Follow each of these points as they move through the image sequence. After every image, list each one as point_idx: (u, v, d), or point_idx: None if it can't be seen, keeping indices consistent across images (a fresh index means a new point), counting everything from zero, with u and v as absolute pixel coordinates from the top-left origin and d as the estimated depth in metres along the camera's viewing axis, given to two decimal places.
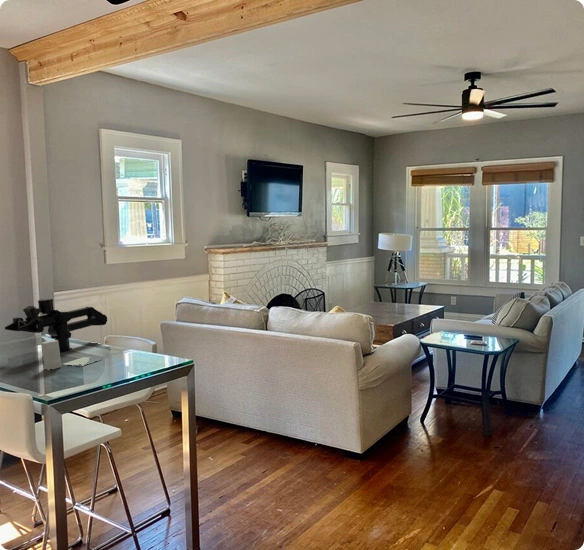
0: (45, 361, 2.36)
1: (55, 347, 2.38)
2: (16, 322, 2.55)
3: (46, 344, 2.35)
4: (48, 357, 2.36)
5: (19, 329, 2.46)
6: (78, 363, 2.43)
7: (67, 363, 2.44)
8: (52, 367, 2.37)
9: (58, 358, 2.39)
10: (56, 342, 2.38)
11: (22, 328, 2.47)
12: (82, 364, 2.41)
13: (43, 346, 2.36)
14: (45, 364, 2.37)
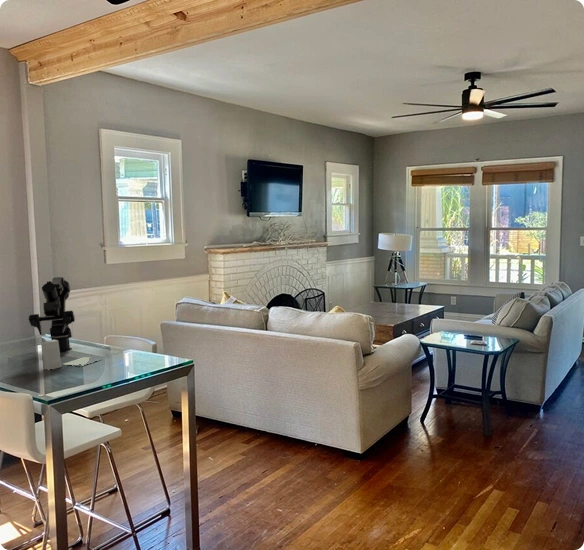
0: (45, 361, 2.36)
1: (55, 347, 2.38)
2: (39, 321, 2.47)
3: (46, 344, 2.35)
4: (48, 357, 2.36)
5: (63, 331, 2.47)
6: (78, 363, 2.43)
7: (67, 363, 2.44)
8: (52, 367, 2.37)
9: (58, 358, 2.39)
10: (56, 342, 2.38)
11: (64, 328, 2.48)
12: (82, 364, 2.41)
13: (43, 346, 2.36)
14: (45, 364, 2.37)
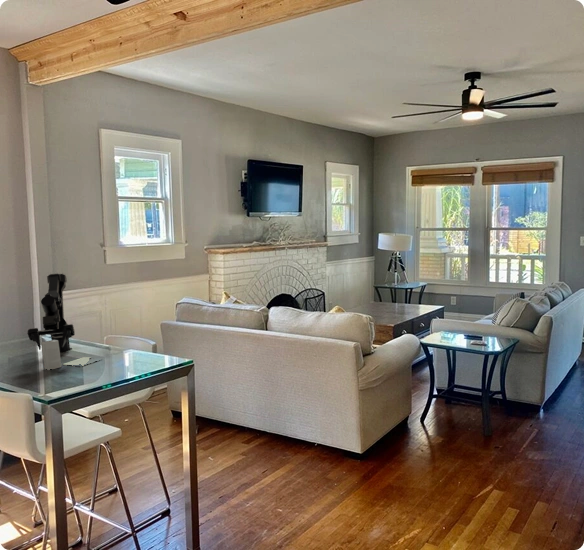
0: (45, 361, 2.36)
1: (55, 347, 2.38)
2: (38, 336, 2.41)
3: (46, 344, 2.35)
4: (48, 357, 2.36)
5: (63, 345, 2.41)
6: (78, 363, 2.43)
7: (67, 363, 2.44)
8: (52, 367, 2.37)
9: (58, 358, 2.39)
10: (56, 342, 2.38)
11: (64, 342, 2.42)
12: (82, 364, 2.41)
13: (43, 346, 2.36)
14: (45, 364, 2.37)
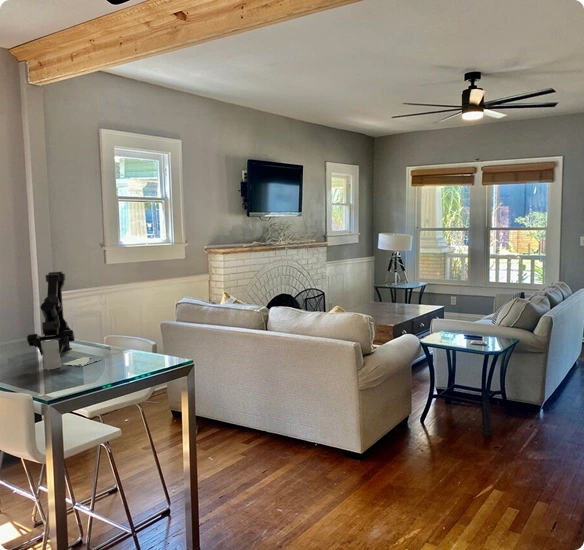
0: (45, 361, 2.36)
1: (55, 347, 2.38)
2: (40, 341, 2.39)
3: (46, 344, 2.35)
4: (48, 357, 2.36)
5: (60, 351, 2.39)
6: (78, 363, 2.43)
7: (67, 363, 2.44)
8: (52, 367, 2.37)
9: (58, 358, 2.39)
10: (56, 342, 2.38)
11: (61, 349, 2.39)
12: (82, 364, 2.41)
13: (43, 346, 2.36)
14: (45, 364, 2.37)
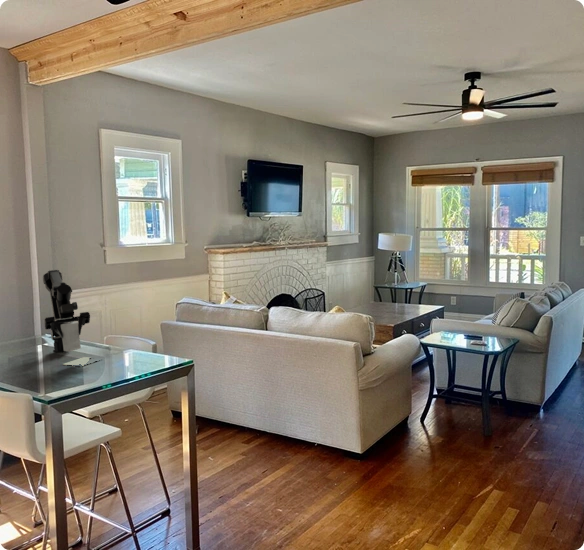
0: (66, 343, 2.40)
1: (75, 329, 2.42)
2: (58, 324, 2.41)
3: (67, 326, 2.38)
4: (69, 339, 2.39)
5: (80, 333, 2.43)
6: (78, 363, 2.43)
7: (67, 363, 2.44)
8: (73, 348, 2.41)
9: (78, 339, 2.43)
10: (76, 324, 2.42)
11: (80, 330, 2.44)
12: (82, 364, 2.41)
13: (64, 328, 2.39)
14: (65, 346, 2.40)
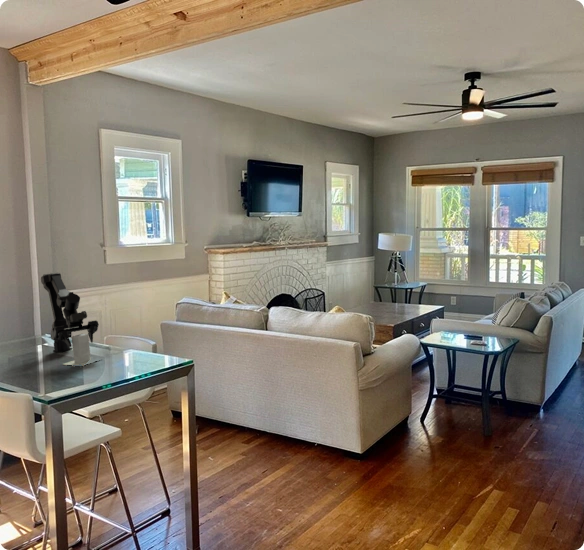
0: (77, 355, 2.43)
1: (86, 341, 2.45)
2: None
3: (79, 338, 2.42)
4: (81, 351, 2.42)
5: (92, 341, 2.47)
6: (78, 363, 2.43)
7: (67, 363, 2.44)
8: (84, 360, 2.44)
9: (88, 351, 2.46)
10: (86, 335, 2.45)
11: (92, 338, 2.48)
12: (82, 364, 2.41)
13: (75, 340, 2.42)
14: (76, 358, 2.43)
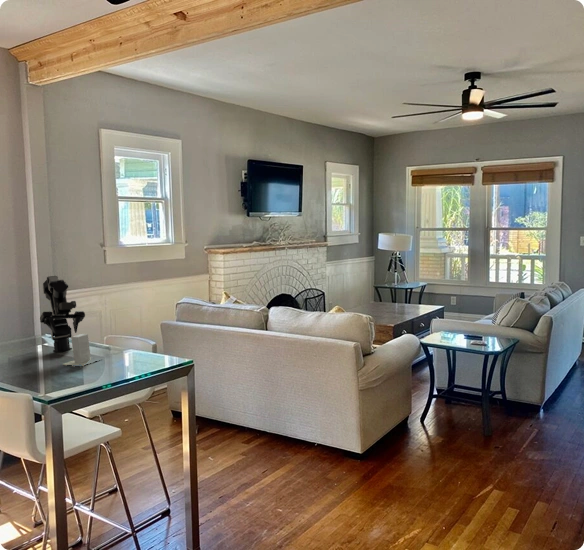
0: (77, 355, 2.43)
1: (85, 341, 2.45)
2: None
3: (79, 338, 2.42)
4: (81, 351, 2.43)
5: None
6: (78, 363, 2.43)
7: (67, 363, 2.44)
8: (84, 360, 2.44)
9: (88, 351, 2.46)
10: (86, 335, 2.45)
11: (76, 328, 2.54)
12: (82, 364, 2.41)
13: (75, 340, 2.42)
14: (76, 358, 2.43)
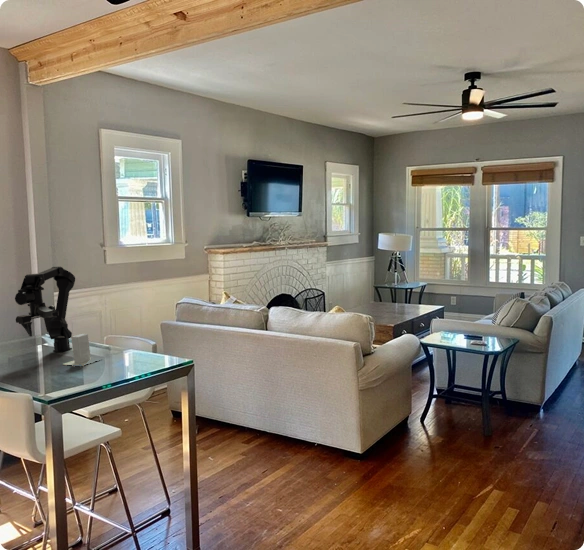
0: (77, 355, 2.43)
1: (85, 341, 2.45)
2: None
3: (79, 338, 2.42)
4: (81, 351, 2.43)
5: None
6: (78, 363, 2.43)
7: (67, 363, 2.44)
8: (84, 360, 2.44)
9: (88, 351, 2.46)
10: (86, 335, 2.45)
11: None
12: (82, 364, 2.41)
13: (75, 340, 2.42)
14: (76, 358, 2.43)
